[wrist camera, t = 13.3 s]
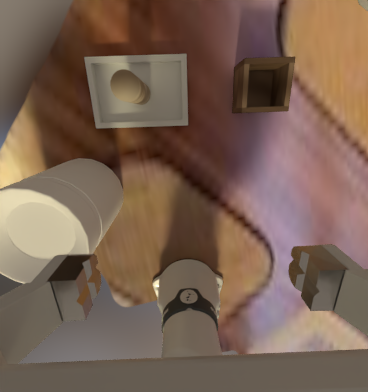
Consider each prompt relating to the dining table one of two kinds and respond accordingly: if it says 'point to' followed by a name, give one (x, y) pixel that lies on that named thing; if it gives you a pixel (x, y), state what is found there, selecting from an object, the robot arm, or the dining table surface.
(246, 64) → the pen pot
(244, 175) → the dining table surface
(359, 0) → the french press
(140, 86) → the dowel
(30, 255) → the canister
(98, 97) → the tray
